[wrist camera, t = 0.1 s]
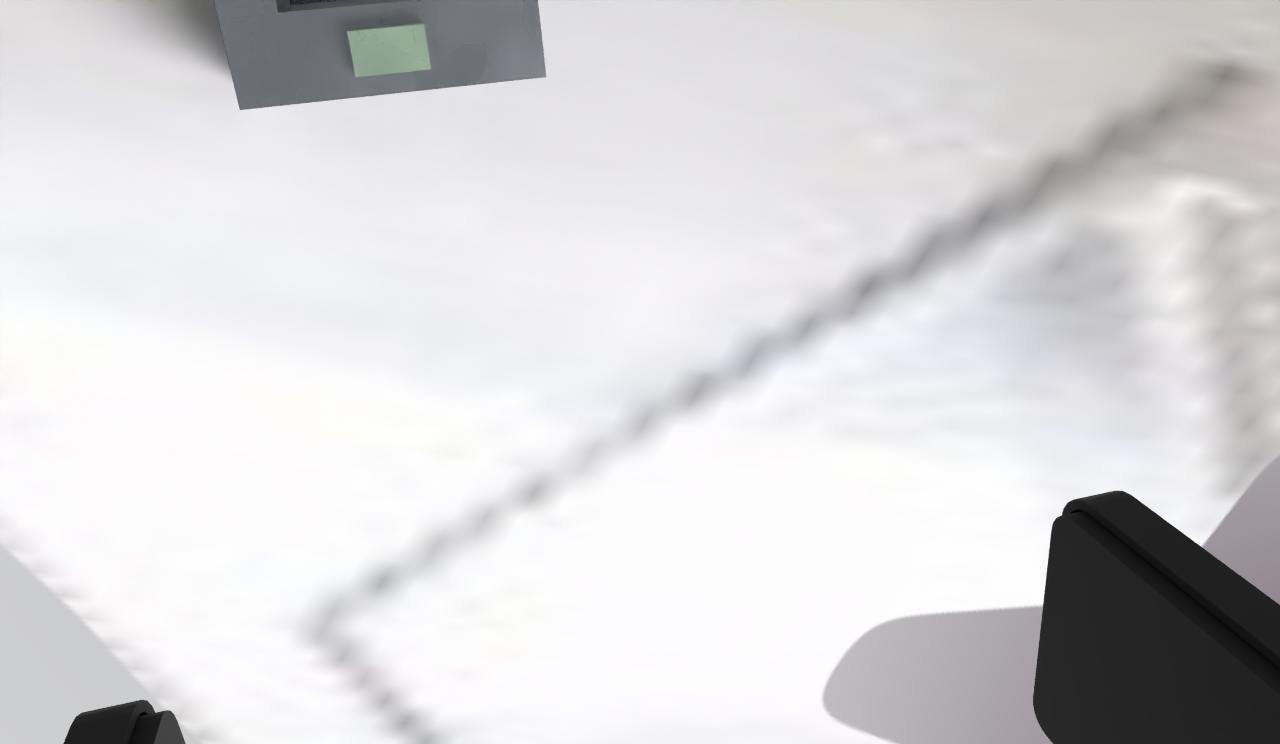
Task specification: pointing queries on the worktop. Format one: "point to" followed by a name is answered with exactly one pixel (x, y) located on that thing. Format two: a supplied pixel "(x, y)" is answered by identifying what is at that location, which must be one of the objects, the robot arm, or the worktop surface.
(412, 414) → the worktop surface
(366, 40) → the power strip
